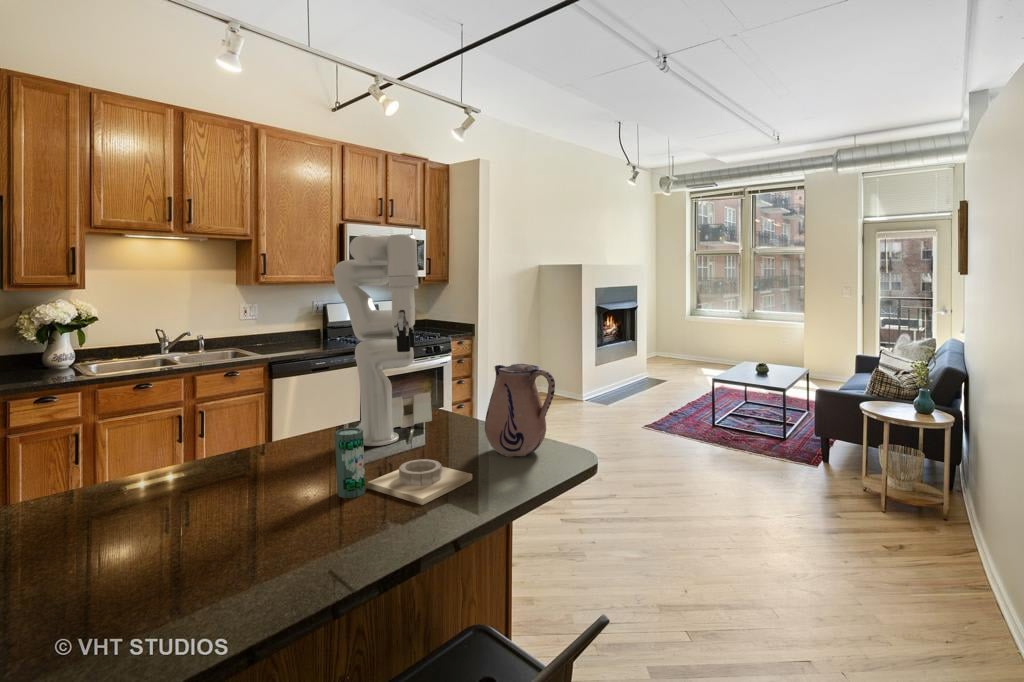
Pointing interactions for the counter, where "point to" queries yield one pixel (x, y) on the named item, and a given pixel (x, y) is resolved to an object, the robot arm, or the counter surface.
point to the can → (350, 462)
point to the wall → (411, 410)
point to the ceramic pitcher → (517, 410)
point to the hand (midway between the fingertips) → (406, 349)
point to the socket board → (420, 491)
